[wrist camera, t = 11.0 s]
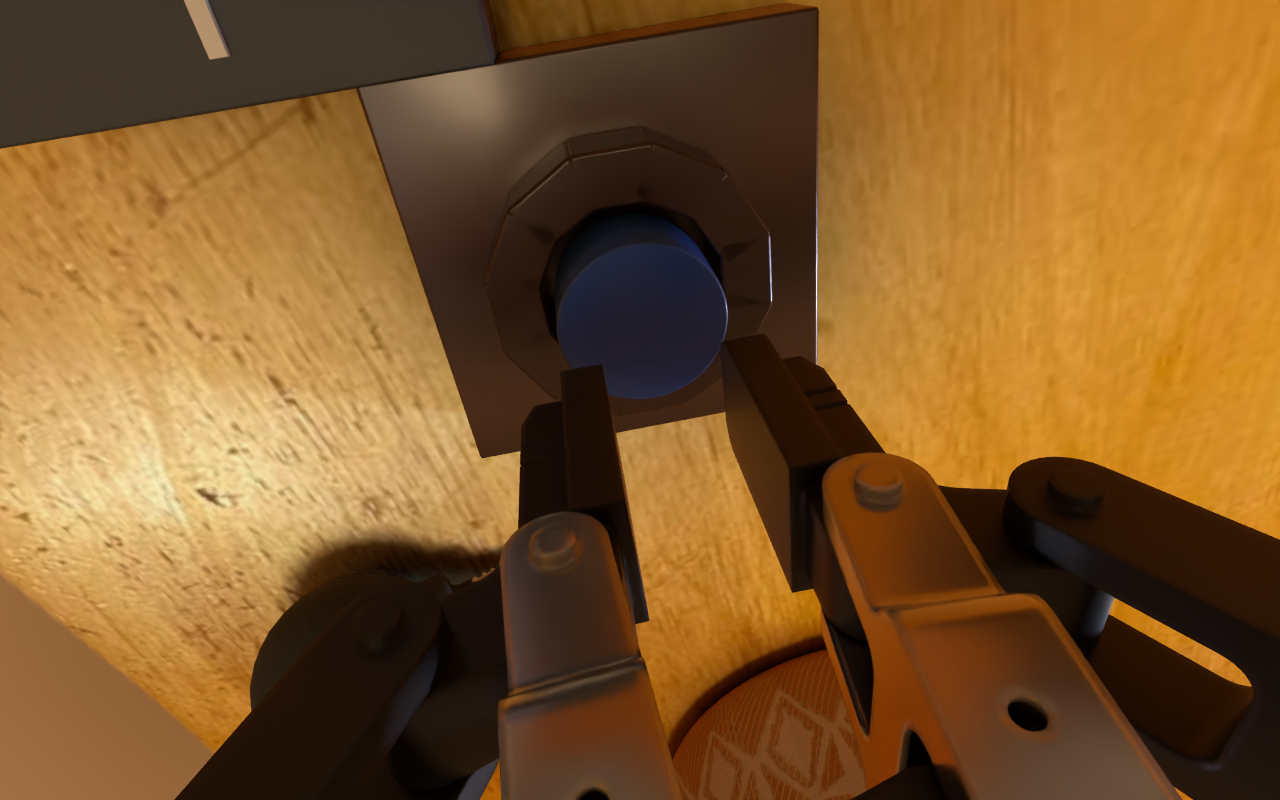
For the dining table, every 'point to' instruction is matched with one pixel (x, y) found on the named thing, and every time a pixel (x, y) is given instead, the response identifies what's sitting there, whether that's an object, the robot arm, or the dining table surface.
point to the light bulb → (322, 622)
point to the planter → (774, 740)
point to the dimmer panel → (214, 56)
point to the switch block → (607, 192)
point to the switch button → (639, 305)
